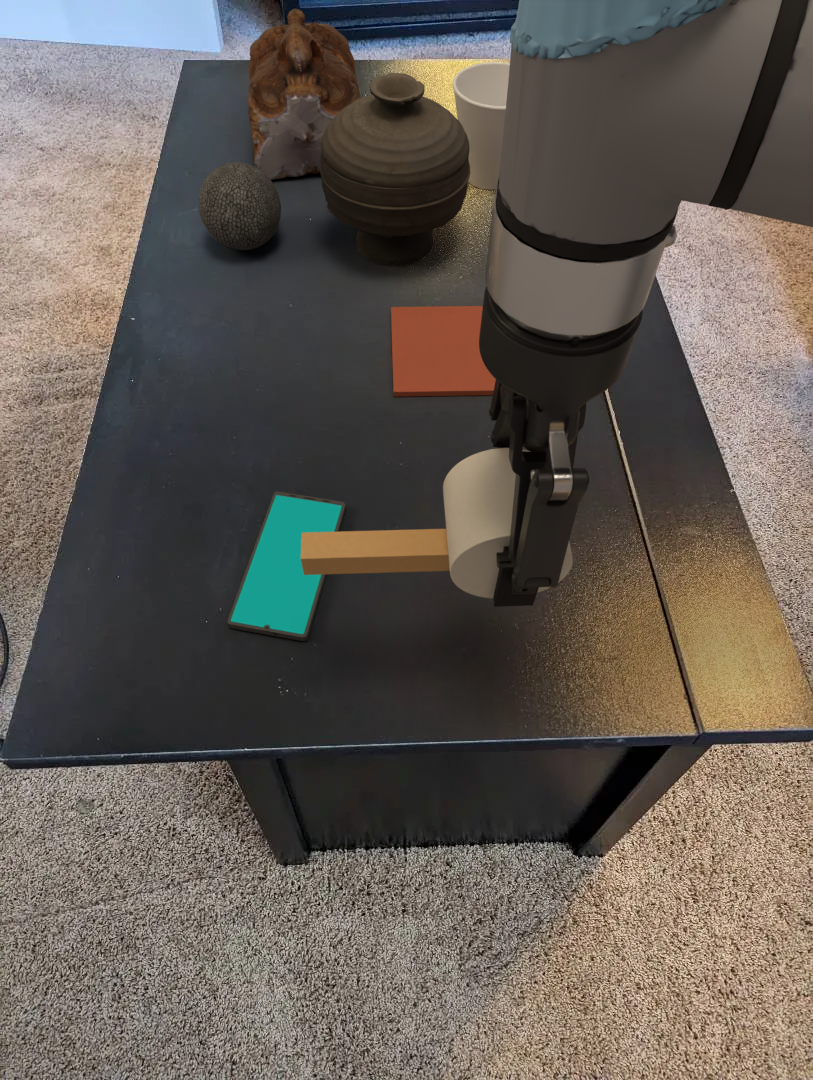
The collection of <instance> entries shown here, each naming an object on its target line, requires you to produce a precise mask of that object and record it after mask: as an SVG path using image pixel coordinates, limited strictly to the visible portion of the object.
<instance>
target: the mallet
mask: <svg viewBox="0 0 813 1080" xmlns="http://www.w3.org/2000/svg"><path fill="white" fill-rule="evenodd" d="M522 451H523V452H530V451H528V450H527V449H525V448H523V450H522ZM515 478H516V473H514V472H513V470H512V467H511V464H510V461H509V448H497V447H496V448H490V449H487V450H486V449H485V450H483V451H479V452H476V453H474V454H472V455H469V456H467V457H466V458H464V459H462V460H461V461H459V462H458V463H456V464H455V465H454V466H453V467H452V468H450V470H449V471H448V473H447V474H446V476H445V478H444V481H443V483H442V495H443V507H444V519H445V528H424V529H423V528H422V529H420V528H419V529H386V530H351V531H350V530H349V531H347V530H346V531H345V530H344V531H343V530H342V531H339V532H306V533H302V539H301V563H302V568H303V573H304V575H320V574H327V575H350V574H351V575H353V574H354V575H355V574H385V573H386V574H388V573H390V574H391V573H417V572H418V573H420V572H421V573H422V572H424V573H425V572H449V575H450V579H451V581H452V583H453V584H454V585H455V586H456V587H457V588H458V589H460V590H461V591H463V592H465V593H467V594H469V595H471V596H475V597H479V598H486V599H493V596H494V591H495V587H496V582H497V577H498V573H499V568H498V567H497V560H496V553H497V552H503V549H504V547H505V546H509V543H510V533H511V522H512V511H513V500H514V489H515ZM573 561H574V559H573V553H572V547H571V543H570V541H569V543H568V547H567V551H566V555H565V558H564V562H563V566H562V570H561V574H560V578H559V582H558V583H560V582H561V581H562V580H564V579H565V578H566V577H567V576H568V574H569V573H570V571H571V569H572V567H573ZM550 588H551V587H539V588H538V591H537V594H538V593H541V592H543V591H546V590H548V589H550Z"/></svg>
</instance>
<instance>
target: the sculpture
mask: <svg viewBox="0 0 813 1080" xmlns="http://www.w3.org/2000/svg"><path fill="white" fill-rule="evenodd" d="M286 18H287V24H280V25H276V26H272V27H269V28H266V29H265V30H264V31H263V32H262V33H261V34H260V36H259V37H258V38H257V39H256V40H254V41H253V42H252V43H251V45H250V46H249V57H250V58H249V63H248V66H247V70H248V79H249V88H248V89H249V91H248V97H247V103H248V106H247V107H248V110H247V114H248V116H249V125H250V129H251V143H252V151H253V158H254V159H253V163H254V167H256V168H258V169H259V170H261V171H262V172H263V173H265V174H266V175H267V176H268V177H269V178H270V180H271V181H272V180H280V179H285V178H297V177H303V176H305V175H318V174H321V173H320V170H321V168H320V167H321V165H320V164H321V162H320V159H321V141H322V137H323V134H324V131H325V129H326V128H327V126H328V125H329V124H330V122H331V120H332V119H333V118H334V117H335V116H336V115H337V114H338V113H339V112H340V111H341V110H343V109H344V108H345V107H347V106H348V105H350V104H351V103H353V102H354V101H356V100H358V99H360V98H362V97H361V93H360V87H359V84H358V77H357V68H356V60H355V58H354V54H353V53H352V51H351V49H350V44H349V41H348V39H347V37H346V36H344V35H343V34H342V33H341V32H339V30H338V29H337V28H335V27H334V26H332V25H330V24H329V23H318V22H317V21H314V22H306V14H305V13H304V11H302V10H301V9H298V8H293V9H291V10H290V11H289V12H288V14H287V17H286Z"/></svg>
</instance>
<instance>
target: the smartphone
mask: <svg viewBox="0 0 813 1080" xmlns="http://www.w3.org/2000/svg"><path fill="white" fill-rule="evenodd" d="M346 508H347V507H346V503H345V502H344V501H340V500H334V499H328V498H323V497H322V498H321V497H315V496H309V495H302V494H297V493H291V492H285V491H278V490H276V491H274V492H273V494H272V497H271V500H270V502H269V505H268V508H267V510H266V513H265V515H264V519H263V522H262V524H261V526H260V530H259V533H258V535H257V538H256V540H255V543H254V546H253V549H252V552H251V555H250V557H249V558H248V562H247V565H246V569H245V571H244V573H243V575H242V578H241V581H240V583H239V587H238V589H237V592H236V595H235V598H234V601H233V604H232V606H231V609H230V612H229V615H228V618H227V624H228V626H229V628H230V629H234V630H239V631H245V632H250V633H256V634H262V635H267V636H273V637H279V638H282V639H283V638H284V639H289V640H295V641H299V642H300V641H301V642H306V641H307V640H308V639H309V636H310V633H311V629H312V626H313V623H314V618H315V615H316V612H317V609H318V605H319V603H320V598H321V595H322V592H323V589H324V586H325V585H324V584H325V582H326V577H327V575H328V574H320V575H304V573H303V568H302V563H301V539H302V533H306V532H341V527H342V524H343V520H344V517H345V513H346V511H347V510H346Z"/></svg>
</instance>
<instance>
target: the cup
mask: <svg viewBox="0 0 813 1080" xmlns="http://www.w3.org/2000/svg"><path fill="white" fill-rule="evenodd" d="M509 68H510V62H505V61H487V62H485V61H484V62H480V63H475V64H471V65H469V66H467V67H464V68H462V69H461V70H460V71H459V72H457V73H456V75H455V76H454V77H453V79H452V90H453V93H454V94H453V95H454V103H455V109H456V116H457V117H456V119H457V120H458V121H459V122H460V123H461V125H462V126H463V128H464V131H465V132H466V134H467V137H468V140H469V146H470V151H469V164H470V177H469V180H468V184H470V185H472V186H473V187H475V188H477V189H481V190H490V191H492V190H493V191H494V190H497V185H498V177H499V171H500V161H501V151H502V141H503V131H504V121H505V111H506V101H507V90H508V80H509Z"/></svg>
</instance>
